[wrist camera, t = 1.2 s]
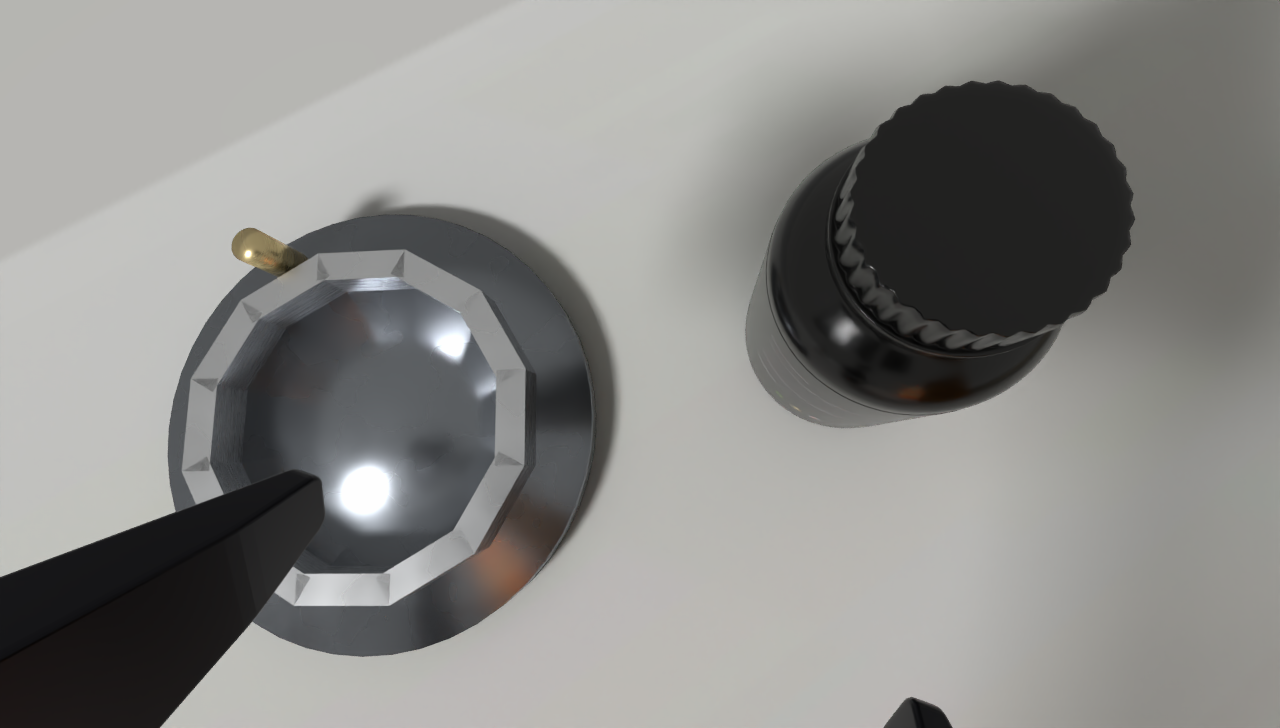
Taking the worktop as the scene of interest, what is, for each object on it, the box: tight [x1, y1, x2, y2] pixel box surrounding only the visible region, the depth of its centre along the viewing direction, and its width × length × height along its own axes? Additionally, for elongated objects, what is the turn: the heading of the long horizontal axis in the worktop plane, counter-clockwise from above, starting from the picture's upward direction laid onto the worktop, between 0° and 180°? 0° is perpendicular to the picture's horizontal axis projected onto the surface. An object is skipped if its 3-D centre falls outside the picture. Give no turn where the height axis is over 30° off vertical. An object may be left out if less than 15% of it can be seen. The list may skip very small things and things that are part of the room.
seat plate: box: [168, 215, 596, 657], centre depth 21 cm, size 16×16×4 cm
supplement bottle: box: [745, 81, 1135, 428], centre depth 16 cm, size 7×7×12 cm
